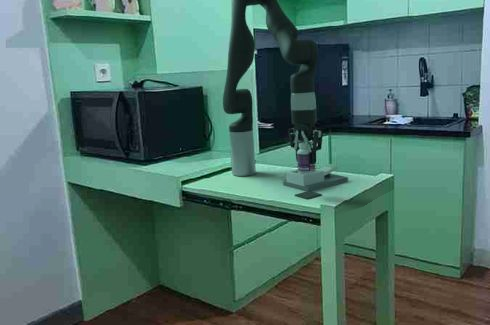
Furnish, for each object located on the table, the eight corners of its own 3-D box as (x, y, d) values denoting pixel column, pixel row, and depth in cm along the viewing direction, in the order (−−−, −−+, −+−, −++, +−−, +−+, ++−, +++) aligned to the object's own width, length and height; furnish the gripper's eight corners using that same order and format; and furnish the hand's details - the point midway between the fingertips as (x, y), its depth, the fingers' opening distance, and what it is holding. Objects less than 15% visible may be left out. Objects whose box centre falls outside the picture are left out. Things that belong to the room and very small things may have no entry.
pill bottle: (314, 175, 136) (313, 144, 134) (297, 175, 137) (295, 144, 135) (315, 171, 141) (314, 141, 139) (298, 171, 142) (297, 141, 140)
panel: (283, 185, 156) (282, 171, 155) (321, 175, 165) (321, 162, 164) (308, 191, 145) (307, 176, 144) (347, 181, 154) (347, 167, 153)
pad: (294, 195, 141) (294, 194, 141) (309, 191, 145) (309, 190, 144) (307, 199, 136) (307, 198, 136) (321, 195, 140) (321, 194, 139)
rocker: (313, 175, 157) (313, 171, 157) (330, 167, 161) (329, 163, 160) (321, 177, 154) (321, 173, 153) (338, 168, 157) (337, 164, 157)
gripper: (279, 108, 139) (282, 162, 142) (309, 109, 127) (312, 167, 131) (297, 106, 143) (300, 158, 146) (329, 107, 131) (331, 163, 134)
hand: (306, 162), depth 138 cm, fingers closed on pill bottle, 5 cm apart
